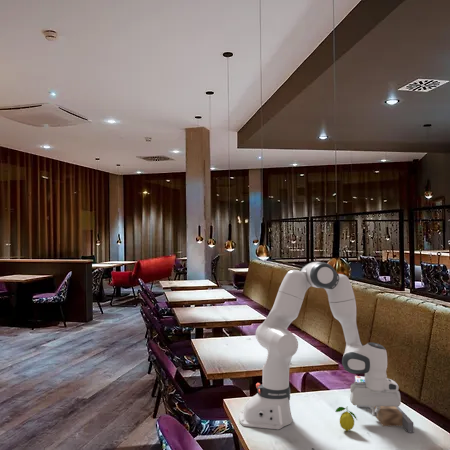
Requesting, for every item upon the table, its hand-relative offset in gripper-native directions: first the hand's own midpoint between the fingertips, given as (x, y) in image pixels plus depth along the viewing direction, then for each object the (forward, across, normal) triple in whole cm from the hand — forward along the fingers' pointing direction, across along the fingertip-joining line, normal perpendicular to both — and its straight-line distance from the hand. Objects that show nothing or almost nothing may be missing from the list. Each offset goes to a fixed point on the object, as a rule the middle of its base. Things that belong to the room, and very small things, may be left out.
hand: (374, 415), depth 185 cm
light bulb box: (+2, 0, +18) cm, 18 cm away
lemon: (+2, -14, -10) cm, 18 cm away
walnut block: (+2, +6, 0) cm, 6 cm away
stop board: (+2, +11, 0) cm, 11 cm away
